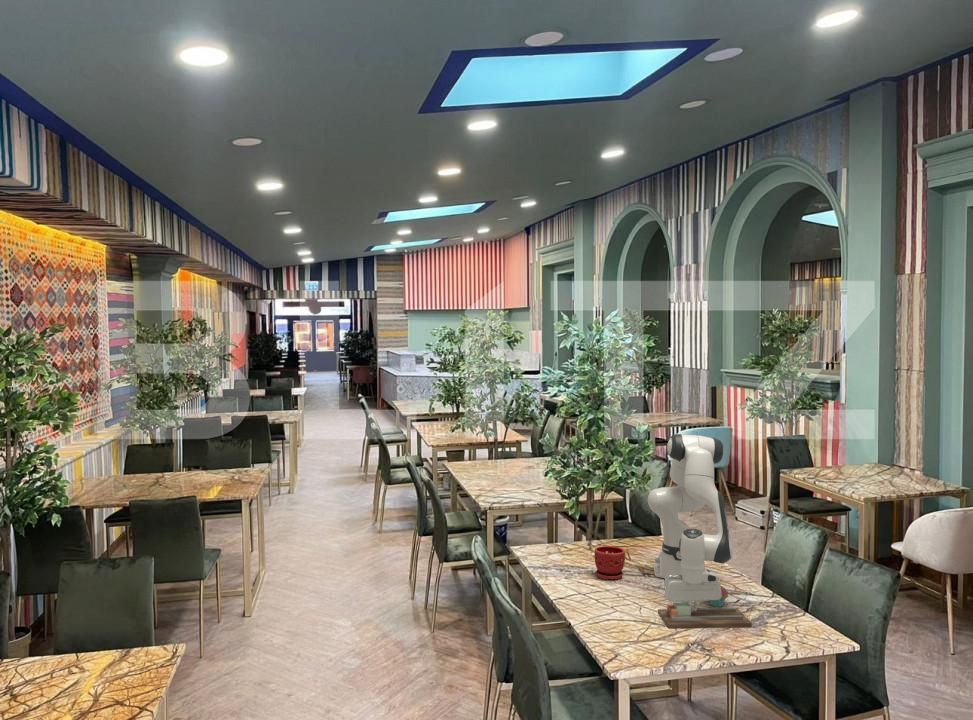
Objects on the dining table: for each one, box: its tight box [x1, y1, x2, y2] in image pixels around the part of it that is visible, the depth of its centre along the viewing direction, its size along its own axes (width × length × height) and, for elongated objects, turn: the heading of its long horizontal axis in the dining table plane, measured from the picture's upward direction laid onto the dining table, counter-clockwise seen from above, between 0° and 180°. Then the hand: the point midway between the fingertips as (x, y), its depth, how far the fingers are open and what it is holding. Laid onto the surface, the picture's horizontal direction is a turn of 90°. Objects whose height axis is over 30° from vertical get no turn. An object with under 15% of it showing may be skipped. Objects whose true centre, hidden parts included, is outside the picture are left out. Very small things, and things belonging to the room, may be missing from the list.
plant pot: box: [593, 545, 626, 580], centre depth 310 cm, size 13×13×12 cm
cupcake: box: [708, 585, 729, 608], centre depth 277 cm, size 9×8×12 cm
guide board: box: [657, 602, 753, 629], centre depth 262 cm, size 14×30×5 cm, turn 91°
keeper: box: [672, 601, 691, 616], centre depth 262 cm, size 5×5×4 cm
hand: (693, 611), depth 262 cm, fingers closed
